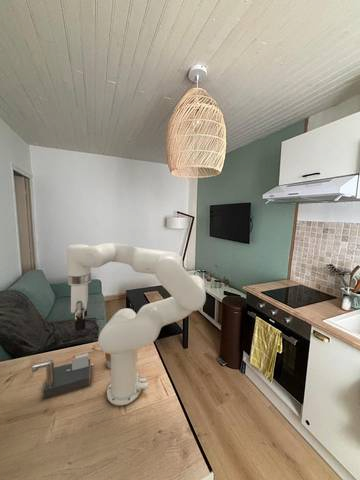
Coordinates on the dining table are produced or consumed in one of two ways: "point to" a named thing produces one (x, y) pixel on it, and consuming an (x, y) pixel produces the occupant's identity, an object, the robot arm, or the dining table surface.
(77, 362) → the tap handle
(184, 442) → the dining table surface
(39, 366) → the spout
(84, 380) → the base
